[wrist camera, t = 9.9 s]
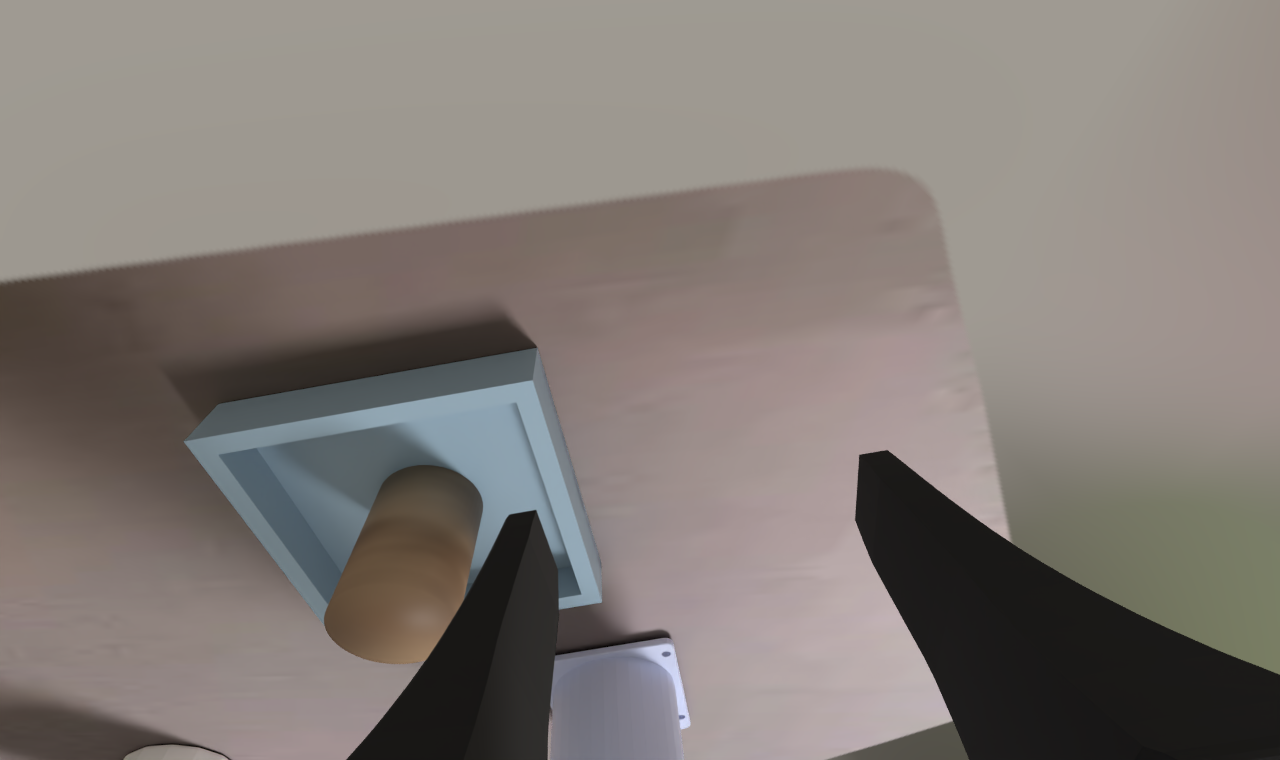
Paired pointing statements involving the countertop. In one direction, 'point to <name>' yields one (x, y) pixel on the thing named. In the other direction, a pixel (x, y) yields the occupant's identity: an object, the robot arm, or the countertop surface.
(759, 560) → the countertop surface
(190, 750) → the white cup
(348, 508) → the light blue square tray
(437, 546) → the tan rounded cylinder
